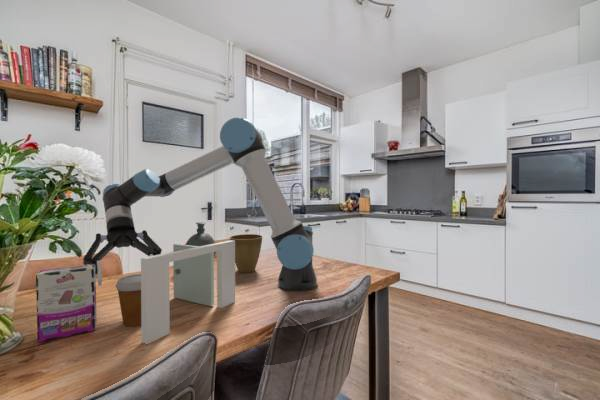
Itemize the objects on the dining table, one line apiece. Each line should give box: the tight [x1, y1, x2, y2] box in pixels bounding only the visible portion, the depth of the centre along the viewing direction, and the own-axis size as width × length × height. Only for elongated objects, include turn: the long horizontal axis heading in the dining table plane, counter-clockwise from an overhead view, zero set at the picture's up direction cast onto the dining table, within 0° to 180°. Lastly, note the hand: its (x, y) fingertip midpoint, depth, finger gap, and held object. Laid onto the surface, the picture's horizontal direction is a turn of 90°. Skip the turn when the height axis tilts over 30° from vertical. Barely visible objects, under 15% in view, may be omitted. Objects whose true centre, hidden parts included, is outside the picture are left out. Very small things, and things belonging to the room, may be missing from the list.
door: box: [172, 243, 215, 307], centre depth 90 cm, size 17×3×18 cm, turn 63°
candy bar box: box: [35, 264, 98, 343], centre depth 70 cm, size 11×5×16 cm, turn 122°
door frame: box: [140, 239, 236, 345], centre depth 78 cm, size 30×2×20 cm, turn 151°
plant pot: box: [229, 233, 263, 274], centre depth 128 cm, size 15×15×16 cm
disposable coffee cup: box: [115, 273, 141, 328], centre depth 76 cm, size 10×10×12 cm
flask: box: [185, 221, 217, 258], centre depth 133 cm, size 12×17×22 cm
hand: (128, 278), depth 81 cm, fingers open, 13 cm apart
